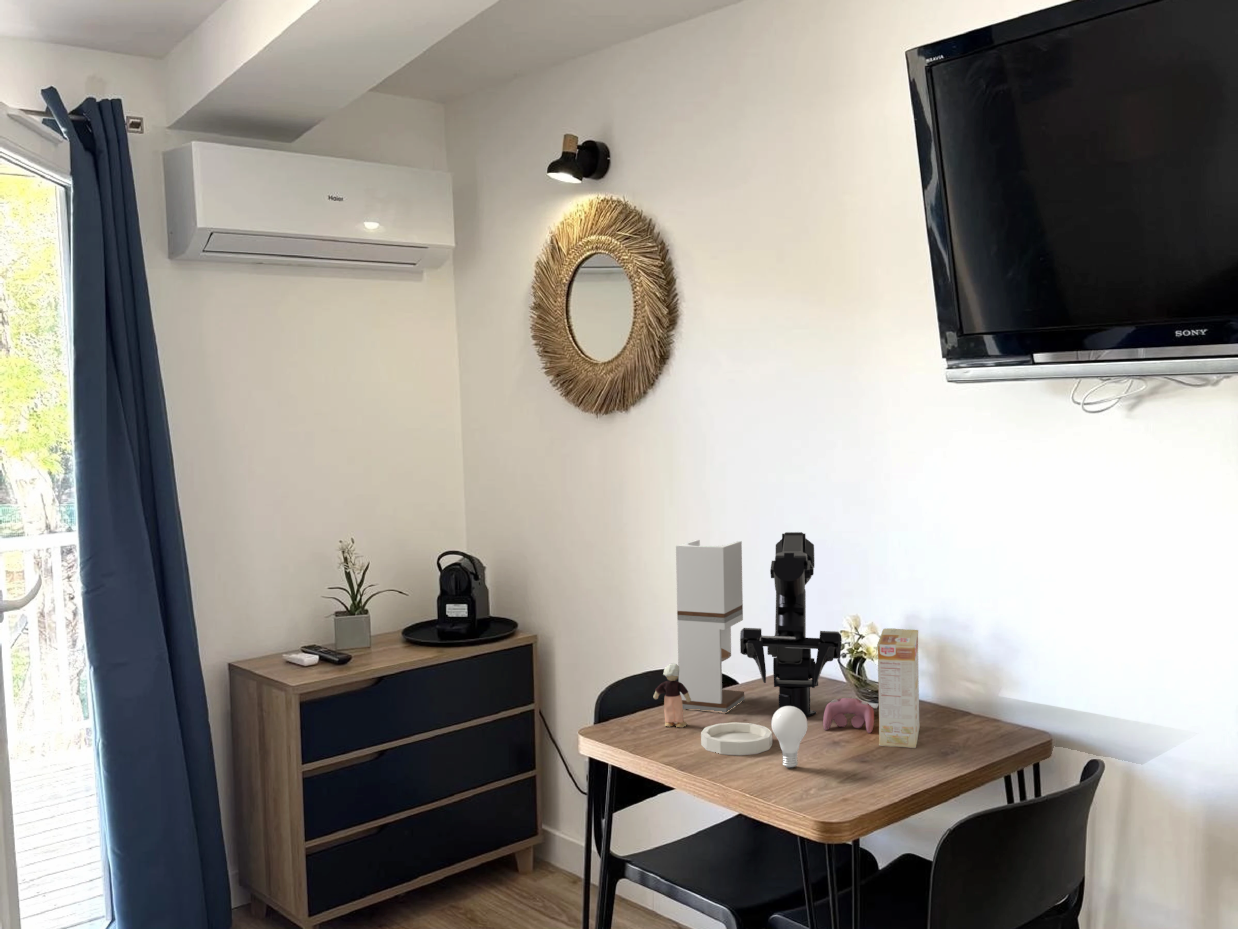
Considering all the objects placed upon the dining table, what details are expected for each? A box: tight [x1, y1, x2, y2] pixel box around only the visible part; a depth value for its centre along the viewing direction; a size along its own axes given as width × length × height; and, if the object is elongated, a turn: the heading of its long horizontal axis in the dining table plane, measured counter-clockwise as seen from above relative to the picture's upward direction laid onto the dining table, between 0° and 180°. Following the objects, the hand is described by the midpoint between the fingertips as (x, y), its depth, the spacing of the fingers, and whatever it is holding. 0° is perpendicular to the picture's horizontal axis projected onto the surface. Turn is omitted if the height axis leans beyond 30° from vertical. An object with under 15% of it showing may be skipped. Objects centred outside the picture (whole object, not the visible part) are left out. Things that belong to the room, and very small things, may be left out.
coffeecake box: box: [877, 627, 920, 749], centre depth 217 cm, size 15×7×20 cm, turn 162°
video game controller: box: [822, 697, 875, 734], centre depth 223 cm, size 10×5×7 cm, turn 72°
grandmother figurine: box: [653, 662, 691, 728], centre depth 227 cm, size 8×4×13 cm, turn 84°
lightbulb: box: [770, 706, 809, 769], centre depth 199 cm, size 6×6×11 cm
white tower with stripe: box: [675, 539, 745, 712], centre depth 242 cm, size 11×11×35 cm
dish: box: [700, 721, 773, 756], centre depth 214 cm, size 13×13×2 cm
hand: (789, 683), depth 207 cm, fingers open, 9 cm apart
